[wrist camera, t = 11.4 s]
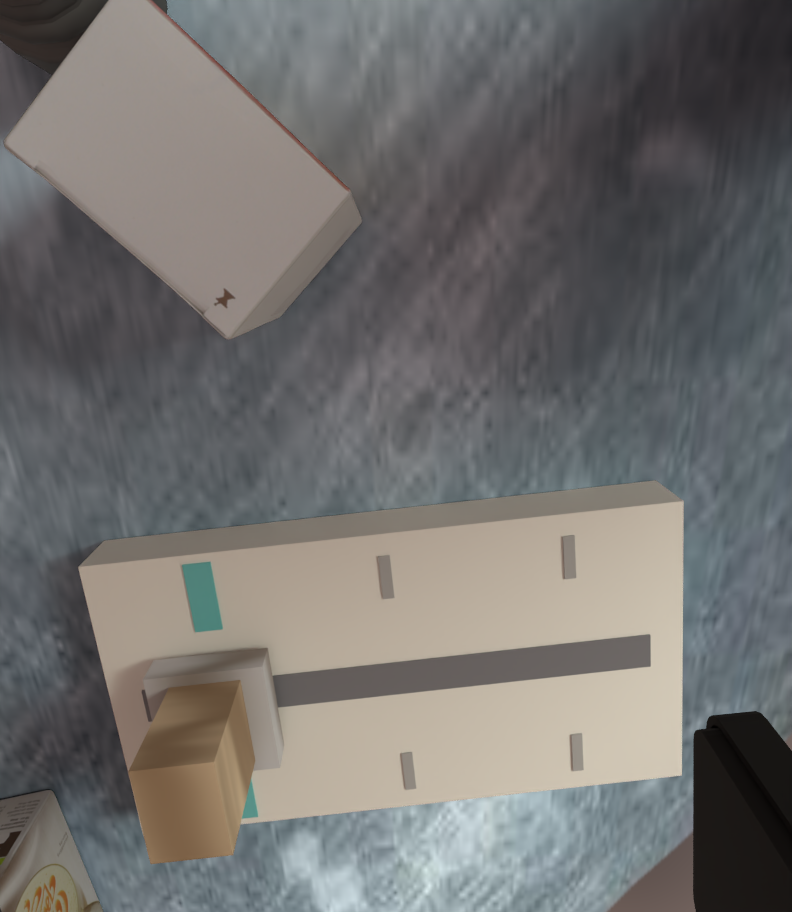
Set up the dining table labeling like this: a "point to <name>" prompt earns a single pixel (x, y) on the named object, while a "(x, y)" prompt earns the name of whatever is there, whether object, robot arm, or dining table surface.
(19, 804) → the coffee box
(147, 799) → the fader
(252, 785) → the console
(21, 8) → the candle holder
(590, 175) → the dining table surface
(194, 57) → the small box
